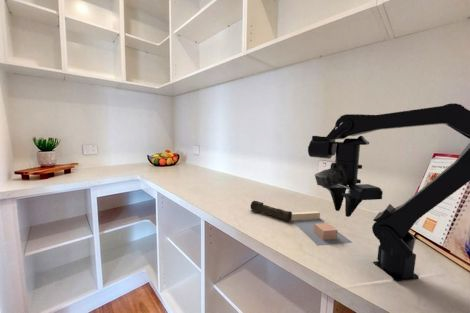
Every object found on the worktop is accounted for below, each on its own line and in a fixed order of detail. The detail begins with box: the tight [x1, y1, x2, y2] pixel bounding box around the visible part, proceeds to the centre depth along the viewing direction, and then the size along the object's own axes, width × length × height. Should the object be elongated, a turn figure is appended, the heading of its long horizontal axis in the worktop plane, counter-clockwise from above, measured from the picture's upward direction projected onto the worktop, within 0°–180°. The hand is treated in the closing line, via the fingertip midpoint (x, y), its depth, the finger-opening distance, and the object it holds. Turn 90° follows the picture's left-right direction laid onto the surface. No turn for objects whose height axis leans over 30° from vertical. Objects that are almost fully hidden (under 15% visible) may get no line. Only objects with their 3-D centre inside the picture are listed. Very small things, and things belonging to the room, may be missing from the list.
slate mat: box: [290, 210, 353, 247], centre depth 68 cm, size 18×12×3 cm, turn 10°
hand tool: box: [250, 200, 293, 223], centre depth 80 cm, size 19×4×5 cm, turn 47°
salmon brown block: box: [314, 222, 339, 240], centre depth 63 cm, size 5×5×3 cm
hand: (342, 213), depth 56 cm, fingers open, 4 cm apart
